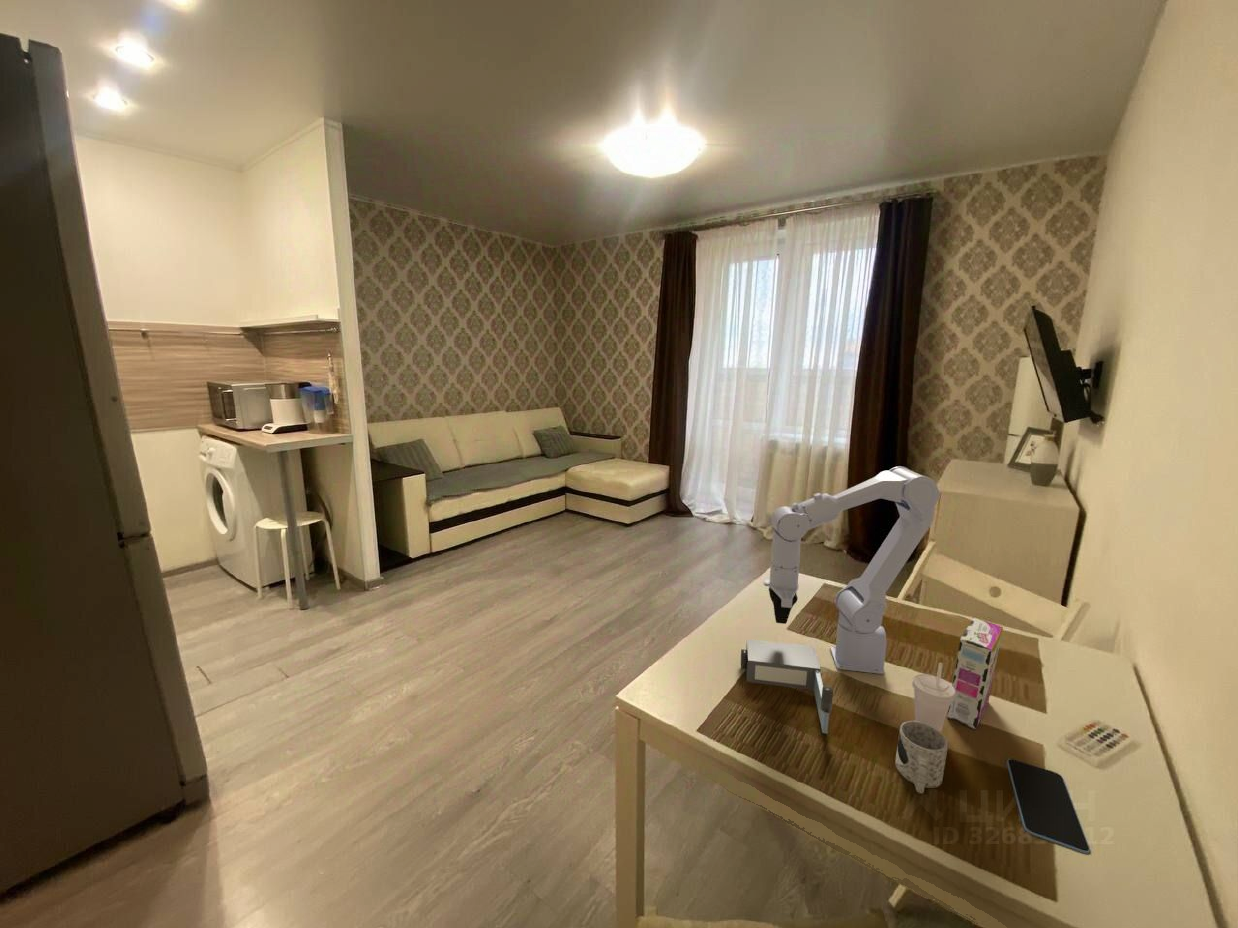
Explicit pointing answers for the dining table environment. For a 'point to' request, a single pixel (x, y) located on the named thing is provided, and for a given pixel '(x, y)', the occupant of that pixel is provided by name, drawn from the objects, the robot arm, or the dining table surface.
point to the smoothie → (932, 698)
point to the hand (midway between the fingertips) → (780, 621)
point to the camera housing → (780, 664)
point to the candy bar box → (974, 672)
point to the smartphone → (1046, 806)
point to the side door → (823, 701)
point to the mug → (921, 754)
